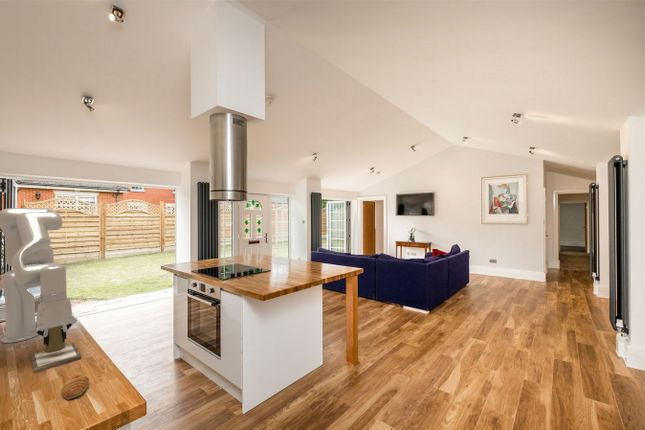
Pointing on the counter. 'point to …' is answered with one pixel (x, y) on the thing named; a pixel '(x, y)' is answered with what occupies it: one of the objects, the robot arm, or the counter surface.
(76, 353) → the silver rectangular plate
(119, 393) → the counter surface
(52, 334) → the cork
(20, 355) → the counter surface
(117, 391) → the counter surface
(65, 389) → the pastry
